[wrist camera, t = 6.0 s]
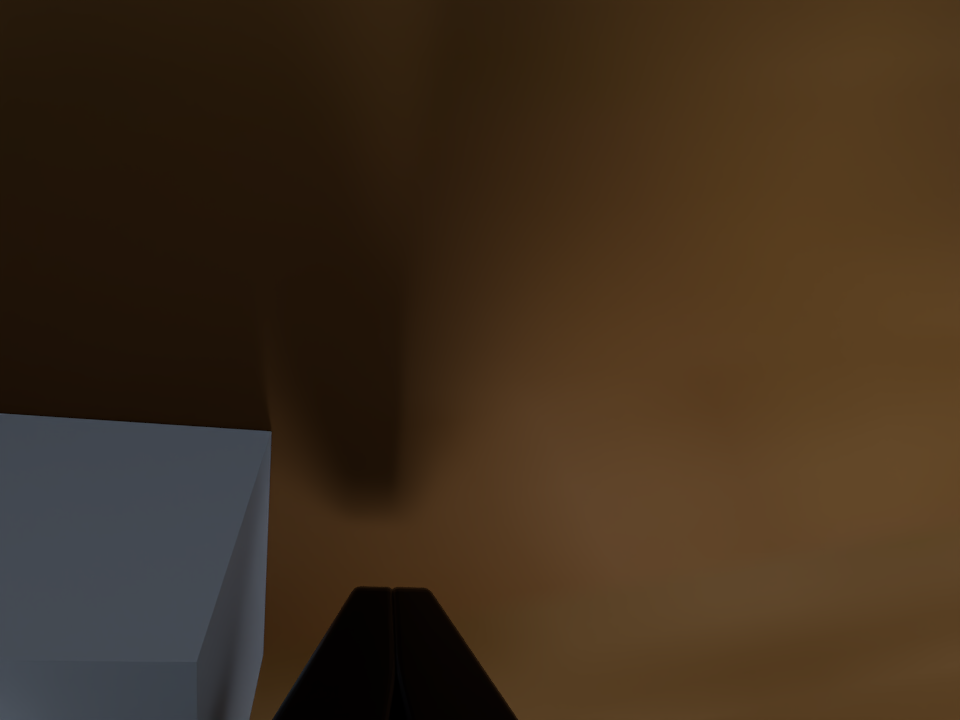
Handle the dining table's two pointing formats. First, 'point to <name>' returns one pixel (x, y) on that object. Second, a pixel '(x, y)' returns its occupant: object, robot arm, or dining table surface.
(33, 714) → the blue-gray block
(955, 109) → the dining table surface
